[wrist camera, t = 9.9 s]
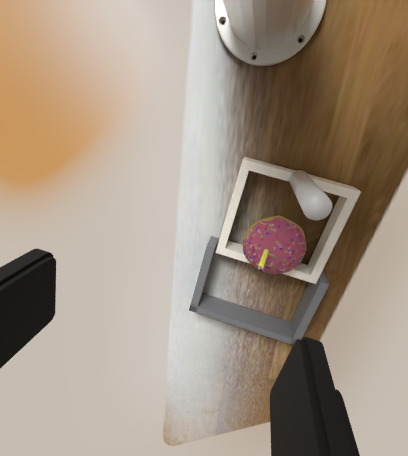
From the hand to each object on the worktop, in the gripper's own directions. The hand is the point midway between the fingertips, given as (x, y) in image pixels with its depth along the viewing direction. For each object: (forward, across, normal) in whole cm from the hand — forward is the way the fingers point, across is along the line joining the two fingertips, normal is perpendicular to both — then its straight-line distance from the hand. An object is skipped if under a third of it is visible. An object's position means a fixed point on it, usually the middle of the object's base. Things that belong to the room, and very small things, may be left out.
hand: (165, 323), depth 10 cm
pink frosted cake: (+32, -8, +7) cm, 34 cm away
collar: (+32, -8, +4) cm, 34 cm away
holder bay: (+32, -8, +17) cm, 37 cm away
